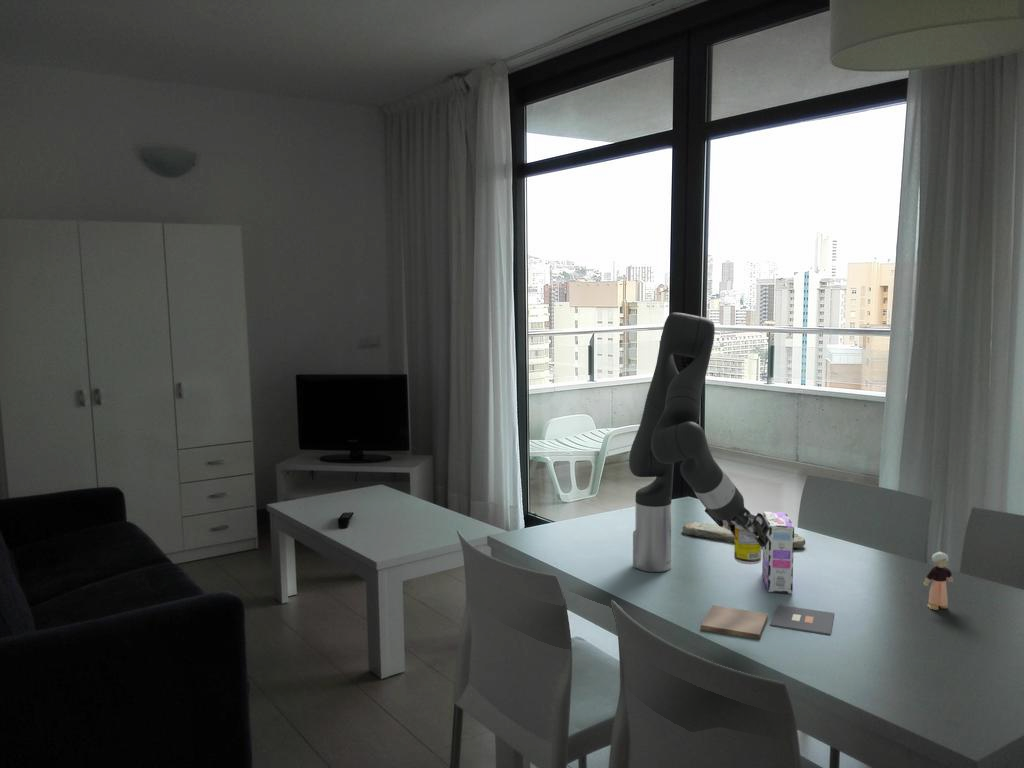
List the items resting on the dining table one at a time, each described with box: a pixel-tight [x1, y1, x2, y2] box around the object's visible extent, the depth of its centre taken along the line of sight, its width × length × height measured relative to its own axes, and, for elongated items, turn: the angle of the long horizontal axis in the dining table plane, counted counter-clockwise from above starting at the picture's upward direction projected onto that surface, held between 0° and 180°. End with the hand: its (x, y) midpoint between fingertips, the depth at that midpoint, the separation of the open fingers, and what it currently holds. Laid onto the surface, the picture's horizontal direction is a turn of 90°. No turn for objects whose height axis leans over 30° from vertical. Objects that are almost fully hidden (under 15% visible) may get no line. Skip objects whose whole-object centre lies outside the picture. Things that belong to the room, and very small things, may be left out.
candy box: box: [761, 511, 795, 594], centre depth 193 cm, size 14×6×16 cm, turn 168°
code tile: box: [769, 604, 835, 636], centre depth 172 cm, size 12×12×1 cm
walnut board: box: [700, 605, 769, 640], centre depth 170 cm, size 12×12×1 cm
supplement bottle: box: [733, 511, 763, 565], centre depth 169 cm, size 6×6×10 cm
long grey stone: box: [682, 521, 806, 549], centre depth 230 cm, size 35×5×10 cm
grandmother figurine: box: [923, 551, 954, 611], centre depth 178 cm, size 8×4×13 cm, turn 117°
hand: (753, 539), depth 170 cm, fingers closed on supplement bottle, 5 cm apart
